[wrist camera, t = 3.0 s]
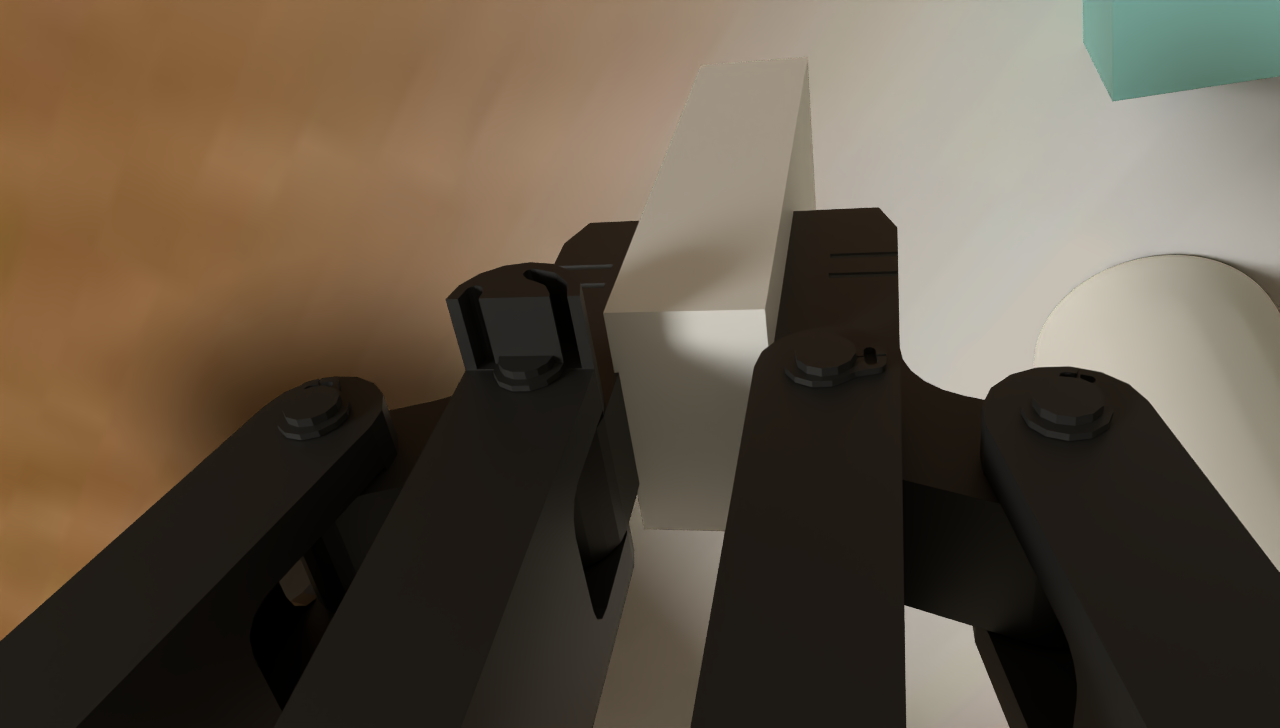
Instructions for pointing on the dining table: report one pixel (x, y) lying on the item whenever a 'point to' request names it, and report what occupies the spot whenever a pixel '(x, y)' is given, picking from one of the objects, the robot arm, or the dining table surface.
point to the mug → (1189, 367)
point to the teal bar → (1180, 43)
